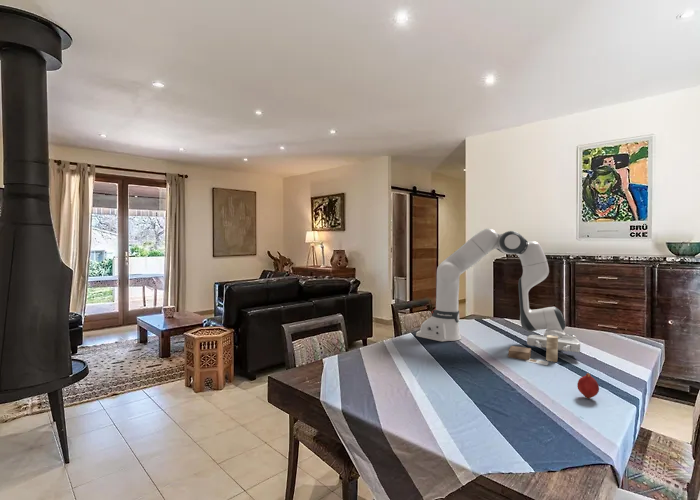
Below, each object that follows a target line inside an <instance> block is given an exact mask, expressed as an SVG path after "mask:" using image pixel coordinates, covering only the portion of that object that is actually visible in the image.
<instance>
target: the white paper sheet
mask: <svg viewBox="0 0 700 500" xmlns="http://www.w3.org/2000/svg"><path fill="white" fill-rule="evenodd" d="M525 362H526V363H530V362H531V364H536V363H537V364H538V365H544V366H548V365H549V361H546V360H540V359H535V358H530V359H529V360H525Z"/></svg>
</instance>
